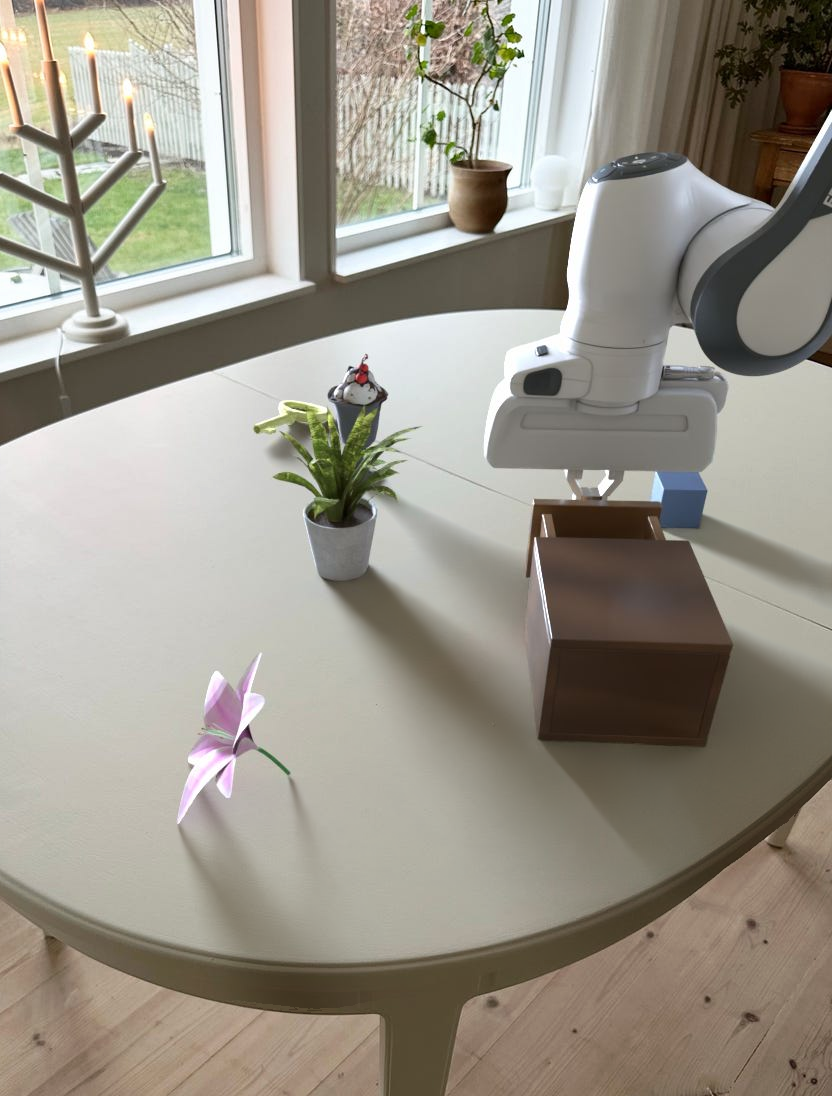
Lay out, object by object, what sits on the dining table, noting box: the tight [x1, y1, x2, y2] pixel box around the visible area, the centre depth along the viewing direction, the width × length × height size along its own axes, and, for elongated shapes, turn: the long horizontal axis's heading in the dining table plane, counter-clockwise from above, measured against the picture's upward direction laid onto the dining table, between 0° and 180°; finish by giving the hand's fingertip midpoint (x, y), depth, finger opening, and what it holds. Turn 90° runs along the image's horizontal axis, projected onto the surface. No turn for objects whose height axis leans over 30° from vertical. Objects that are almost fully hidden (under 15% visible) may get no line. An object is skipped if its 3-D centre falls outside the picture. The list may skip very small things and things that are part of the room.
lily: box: [176, 652, 291, 825], centre depth 68 cm, size 12×12×10 cm
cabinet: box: [523, 537, 734, 747], centre depth 76 cm, size 15×13×10 cm
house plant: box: [270, 405, 423, 582], centre depth 88 cm, size 14×14×16 cm
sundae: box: [326, 353, 389, 486], centre depth 106 cm, size 7×7×15 cm
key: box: [252, 399, 328, 435], centre depth 122 cm, size 7×12×2 cm, turn 163°
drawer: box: [524, 498, 667, 579], centre depth 85 cm, size 18×11×8 cm, turn 176°
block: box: [649, 472, 709, 529], centre depth 100 cm, size 4×4×4 cm
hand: (587, 508), depth 90 cm, fingers closed, pressing on drawer
